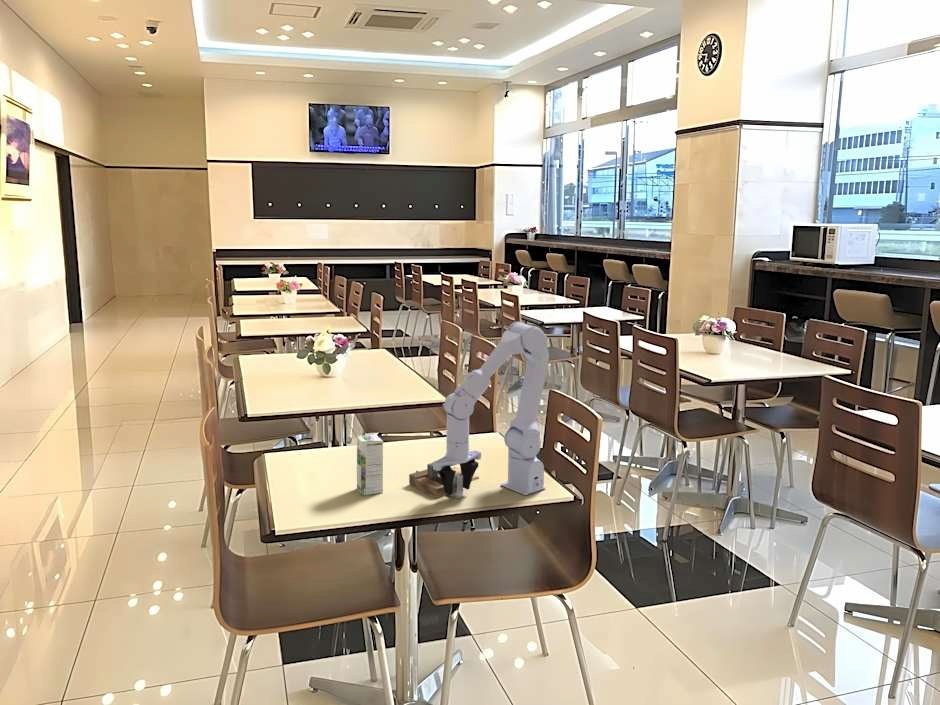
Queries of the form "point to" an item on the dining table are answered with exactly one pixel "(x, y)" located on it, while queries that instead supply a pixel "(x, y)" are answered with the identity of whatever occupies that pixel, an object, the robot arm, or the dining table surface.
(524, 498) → the dining table surface
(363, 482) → the drink carton
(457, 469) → the cork mat
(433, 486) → the vise
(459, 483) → the grey l-shaped block
